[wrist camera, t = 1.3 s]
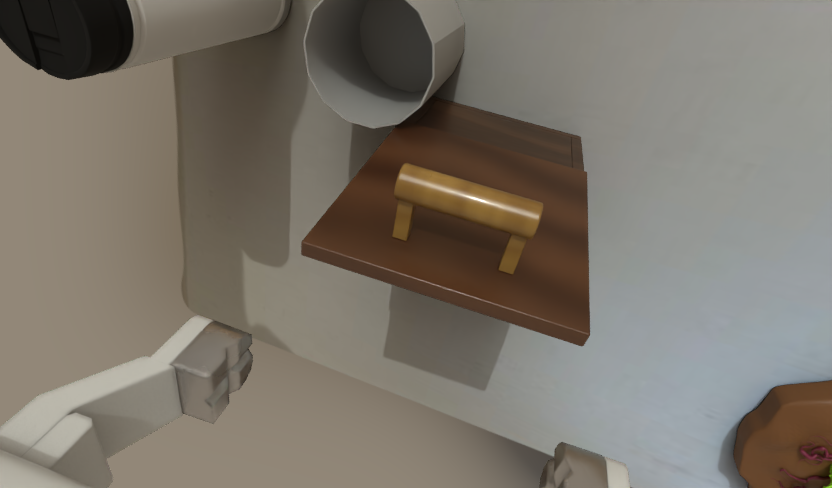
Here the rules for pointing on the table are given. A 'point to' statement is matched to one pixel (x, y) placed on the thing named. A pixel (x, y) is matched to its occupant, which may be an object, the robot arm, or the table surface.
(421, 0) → the cup
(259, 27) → the travel mug
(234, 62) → the table surface
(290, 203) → the table surface
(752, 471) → the plant
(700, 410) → the table surface
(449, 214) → the lid
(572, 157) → the box
